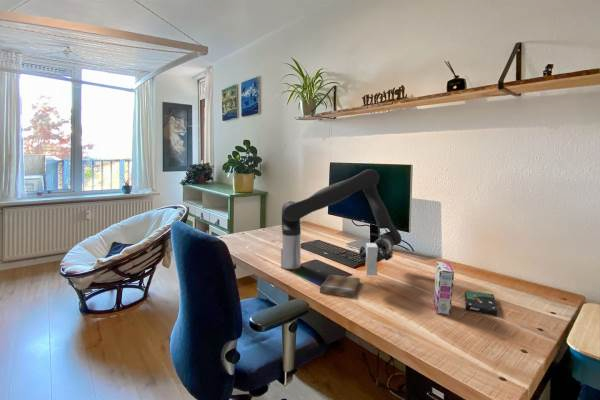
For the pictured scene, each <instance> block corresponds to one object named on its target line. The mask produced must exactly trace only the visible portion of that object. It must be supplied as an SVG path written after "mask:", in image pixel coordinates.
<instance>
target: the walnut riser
mask: <svg viewBox="0 0 600 400" xmlns="http://www.w3.org/2000/svg"><path fill="white" fill-rule="evenodd" d="M360 279H361V278H359V277H354V276H353V277H352V276H346V275H337V274H330V273H329V274H328V275H327V277H326V279H325V280H324V282H323V283H322V284H321V286H320V287H319V293H322V294H327V295H336V296H342V297H348V298H355V297H354V296H355V295H356V292H357V291H358V290H357V289H358V287H359V284H360V282H361V281H360Z"/></svg>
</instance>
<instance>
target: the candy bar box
mask: <svg viewBox="0 0 600 400" xmlns="http://www.w3.org/2000/svg"><path fill="white" fill-rule="evenodd" d="M435 266H436V267H435V277H434V278H435V279H434V291H433V292H434V293H433V303H434V307H435V309H434V310H435V313H436V314H438V315H444V316H451V311H452V310H451V309H452V300H453V298H452V297H453V291H454V290H453V288H454V278H455V277H454V275H455V271H454V270H453V268H452V265H451V263H450V262H446V261H436V265H435Z"/></svg>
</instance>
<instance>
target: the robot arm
mask: <svg viewBox="0 0 600 400" xmlns="http://www.w3.org/2000/svg"><path fill="white" fill-rule="evenodd" d="M379 181H380V174H379V172H378V171H377V170H375V169H371V168H369V169H368V168H367V169H365V170H363V171H361V172H360V173H358V174H356V175H354V176H351V177H350V178H348V179H345V180H341V181H338V182H336V183H332V184H330V185H328V186H326V187H325V186H324V187H322V188H321V189H319V190H318V191H316V192H314V193H313V194H311V195H310V196H309V197H307V198H304V199H302V200H300V201H291V200H289V201H286V202H285V203H284V204H283V205H282V207H281V233H282V234H281V235H282V239H281V240H282V241H281V243H282V244H281V245H282V246H281V249H280V268H283V269H286V270H296V269H299V268H301V263H302V262H301V261H302V260H301V257H302V256H301V255H302V253H301V247H302V246H301V239H302V237H301V233H302V232H301V230H302V229H301V223H300V222H301V219H302V218H304V217H306V216H308V215H310V214H312V213H313V212H316V211H319V210H322V209H324V208H326V207H330V206H332V205H335V204H336V203H339V202H342V200H346V198H349V197H350V196H351V195H353V194H355V193H356V192H359V191H361V190H362V191H363V193H364V195H365V197H366V199H367V200H368V201H367V202H368V203H369V207H370V208H371V211H372V215H373V217H374V219H375V222H376V226H377V227H378V228H379V229H380V230H381V229H387V230H388V231H387V232H384V233H381V234H379V236H378V239H376V240H375V241H374V242H373V243H376V245H377V247H378V256H377V263H379V262H381V261H383V260H385V261H389V260H390V259H392V258H393V255H394V254H393V253H394V252H393V250H391V249H392V248H394V247H393V246H396V245H399V244H402V243H401V242H402V235H401V234H400V232H399V231H398V229H397V228H396V226H395V225H394V224H393V221H392V219H391V217H390V214H389V211H388V208H387V207H386V206H385V203H384V202H383V200H382V199H381V197H380V194H379V192H378V188H377V184H378V183H379ZM358 252H359V253H358V255H359V256H360V257H359V258H360V259H361V260H364V259H366V247H365V246H364V245H363V246H361V247H360V248H359V251H358Z"/></svg>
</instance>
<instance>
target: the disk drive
mask: <svg viewBox="0 0 600 400" xmlns="http://www.w3.org/2000/svg"><path fill="white" fill-rule="evenodd" d="M464 302H465V304H464V305H465V308H464V309H465V310H467V312H474V313H477V314H484V315H488V316H494V317H498V314H499V313H498V312H499V311H498V306H497V303H496V299H495V295H494V294H492V293H485V292H481V291H473V290H465V291H464Z"/></svg>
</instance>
